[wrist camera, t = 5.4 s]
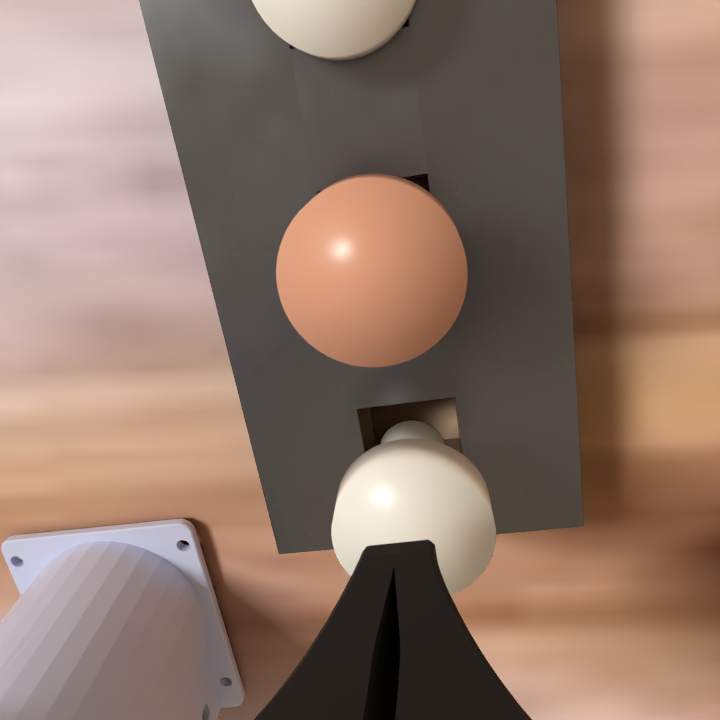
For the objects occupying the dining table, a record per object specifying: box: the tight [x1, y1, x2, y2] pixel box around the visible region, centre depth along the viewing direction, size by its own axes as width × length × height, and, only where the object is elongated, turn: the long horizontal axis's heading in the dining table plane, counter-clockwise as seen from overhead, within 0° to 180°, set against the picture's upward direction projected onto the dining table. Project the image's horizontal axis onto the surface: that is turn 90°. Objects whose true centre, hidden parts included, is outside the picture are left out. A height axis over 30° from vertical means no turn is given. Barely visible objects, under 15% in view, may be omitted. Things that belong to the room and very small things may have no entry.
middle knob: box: [276, 173, 468, 367], centre depth 15 cm, size 4×4×4 cm
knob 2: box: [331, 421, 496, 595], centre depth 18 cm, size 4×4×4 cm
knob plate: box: [139, 0, 584, 554], centre depth 19 cm, size 20×10×3 cm, turn 9°
